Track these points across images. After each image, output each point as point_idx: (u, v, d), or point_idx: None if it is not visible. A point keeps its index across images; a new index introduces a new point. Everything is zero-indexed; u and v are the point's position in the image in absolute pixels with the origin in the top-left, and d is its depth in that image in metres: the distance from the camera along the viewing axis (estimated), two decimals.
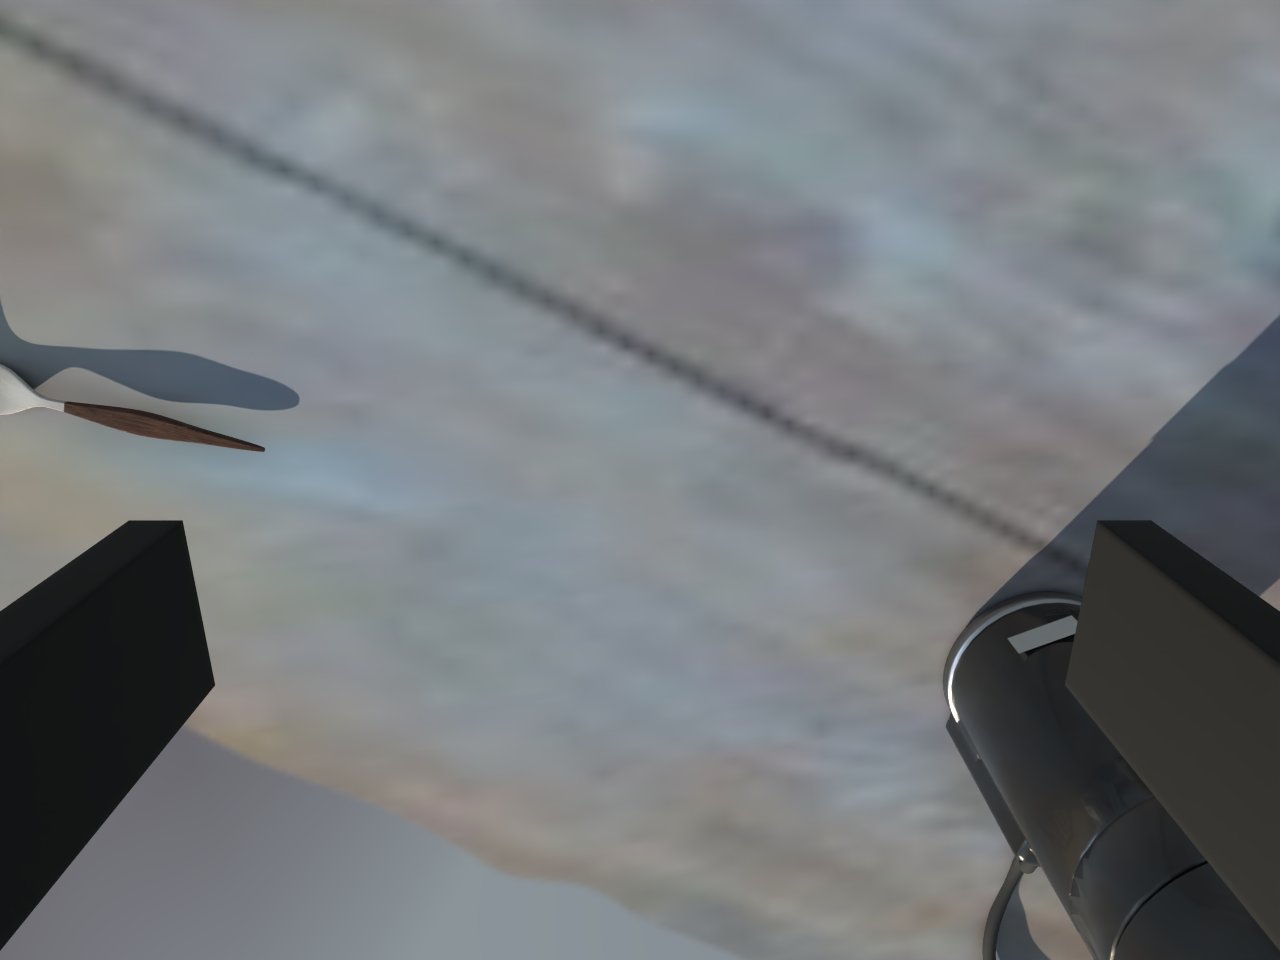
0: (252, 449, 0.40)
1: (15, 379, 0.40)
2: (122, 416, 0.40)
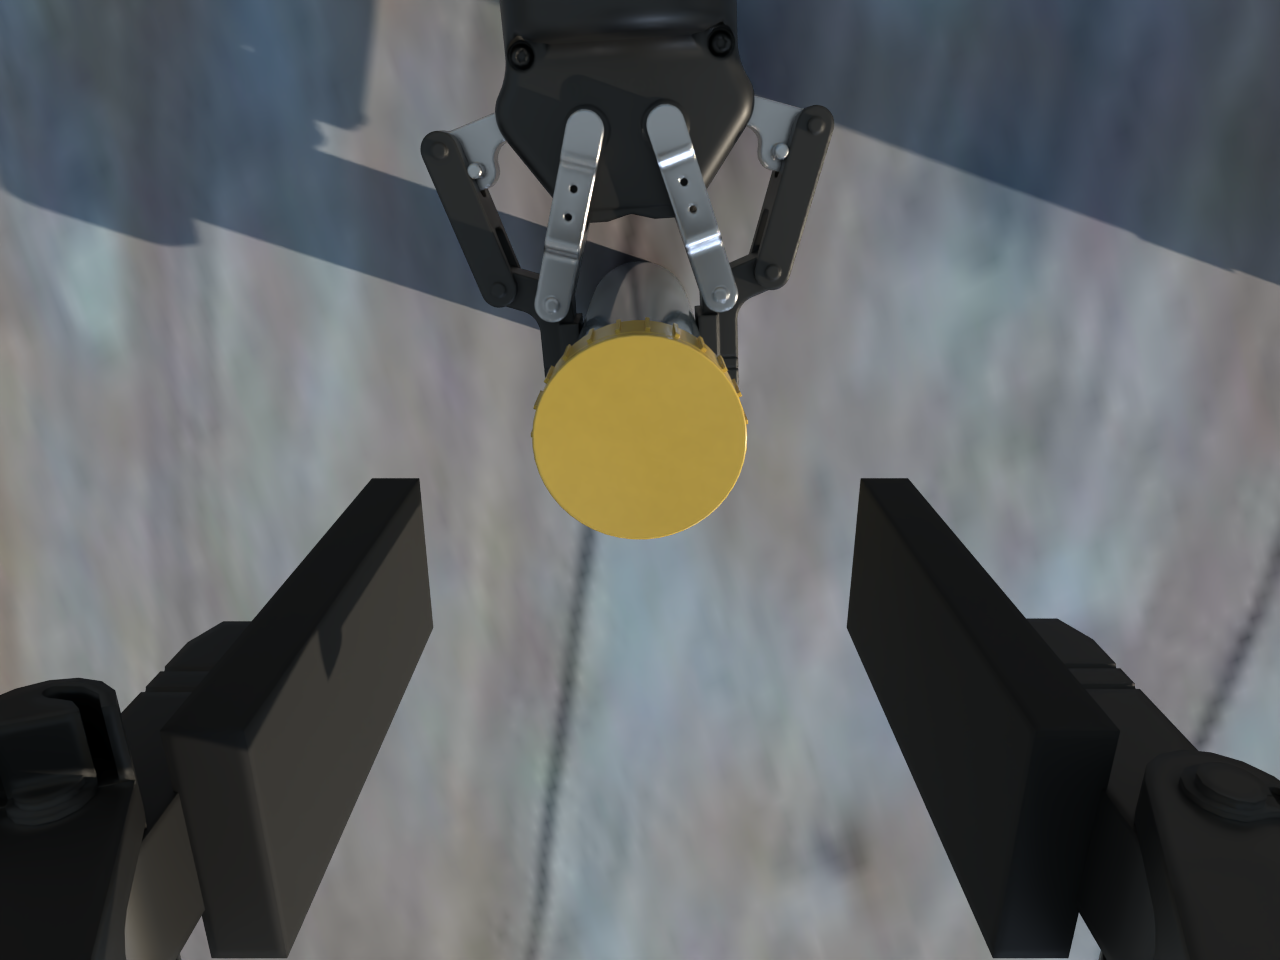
0: None
1: None
2: None
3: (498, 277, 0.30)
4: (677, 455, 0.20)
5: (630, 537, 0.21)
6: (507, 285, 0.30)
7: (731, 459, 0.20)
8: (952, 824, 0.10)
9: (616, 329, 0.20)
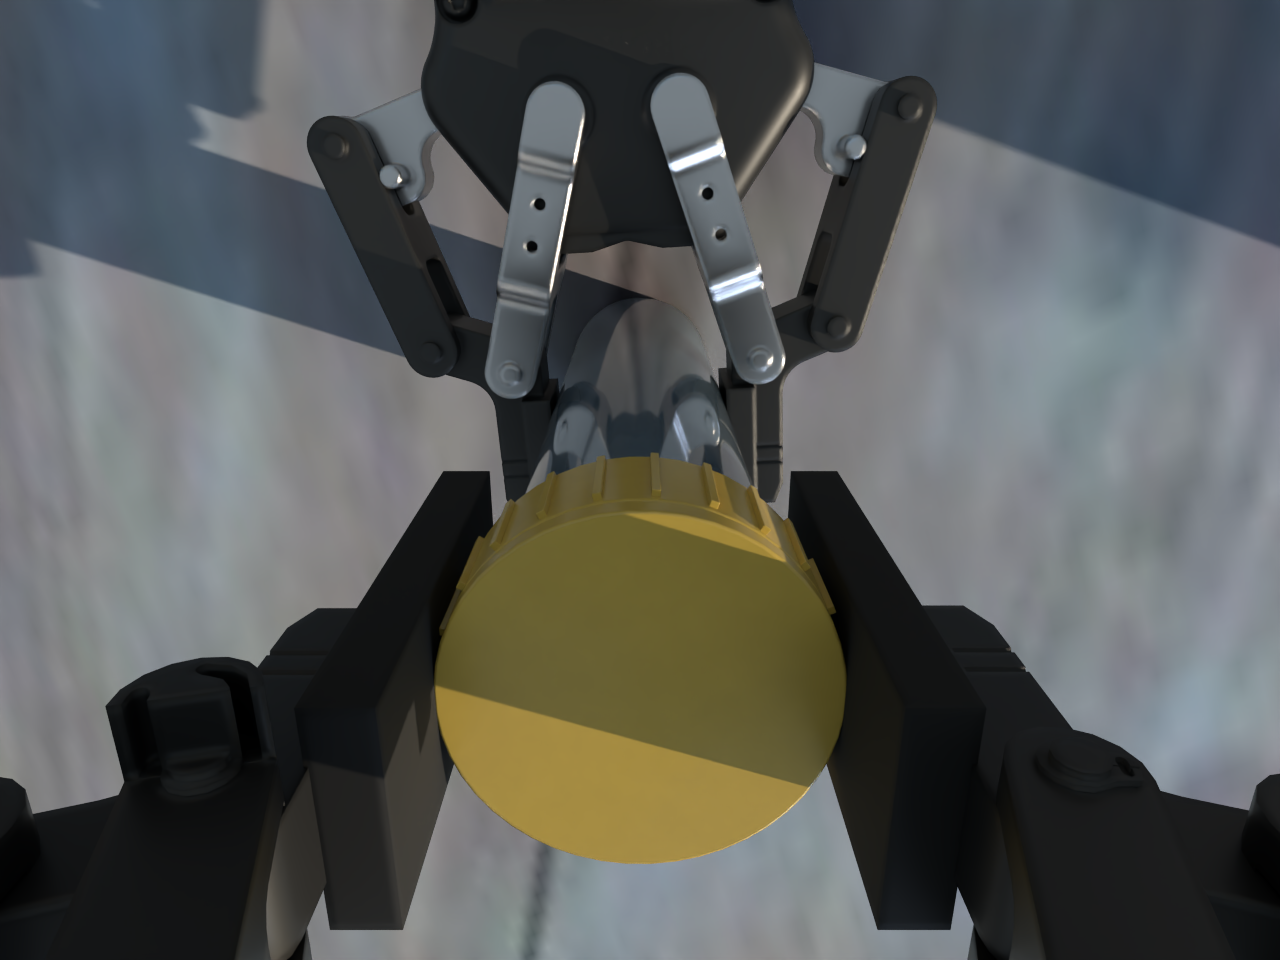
0: None
1: None
2: None
3: (430, 334, 0.20)
4: (712, 726, 0.10)
5: (623, 862, 0.11)
6: (444, 345, 0.20)
7: (816, 733, 0.11)
8: (851, 803, 0.10)
9: (594, 492, 0.10)
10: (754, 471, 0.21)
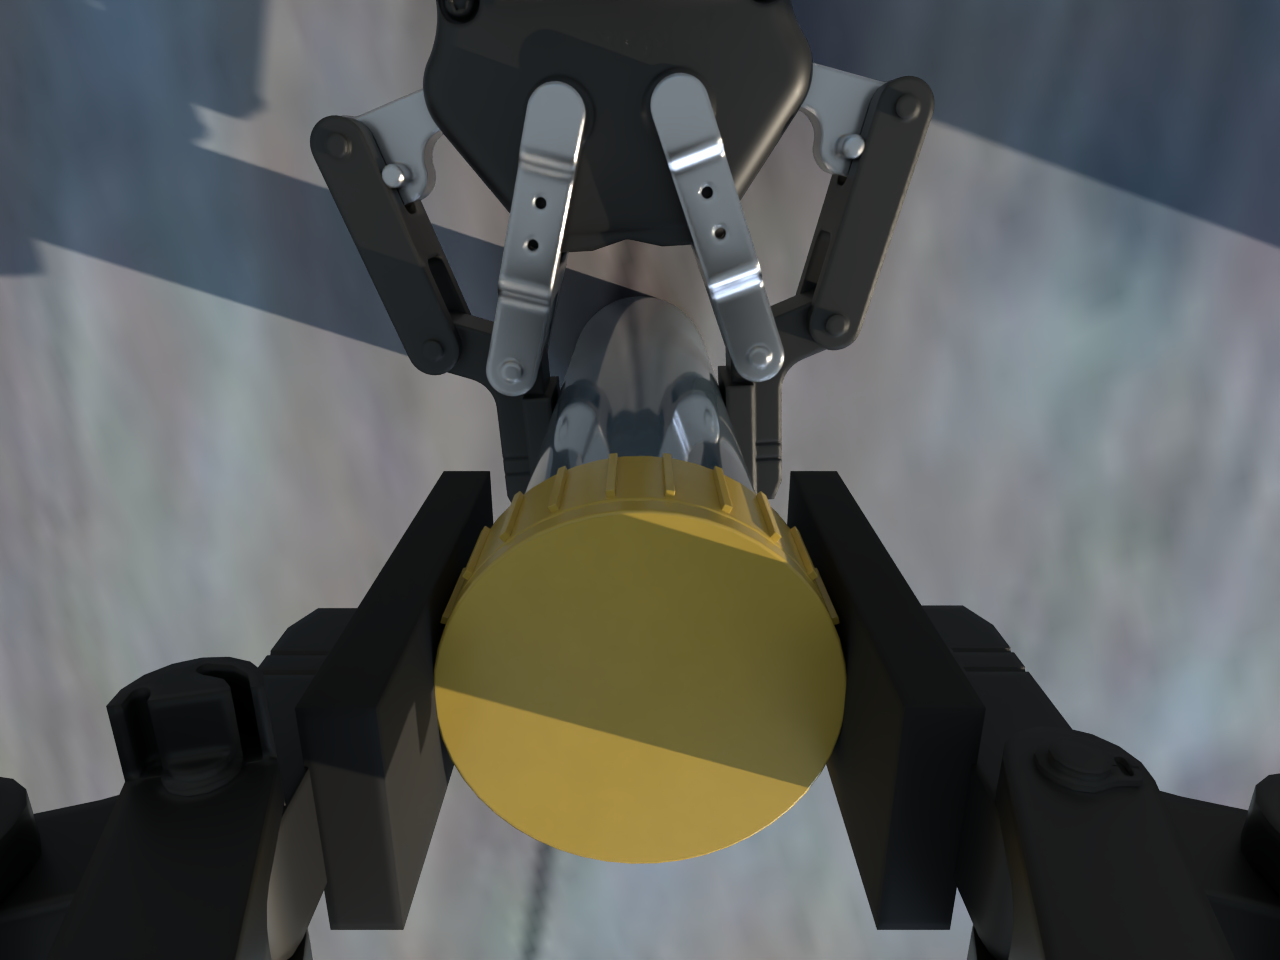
0: None
1: None
2: None
3: (432, 332, 0.20)
4: (624, 635, 0.10)
5: (827, 624, 0.10)
6: (446, 343, 0.20)
7: (572, 546, 0.10)
8: (850, 803, 0.10)
9: None
10: (753, 468, 0.21)
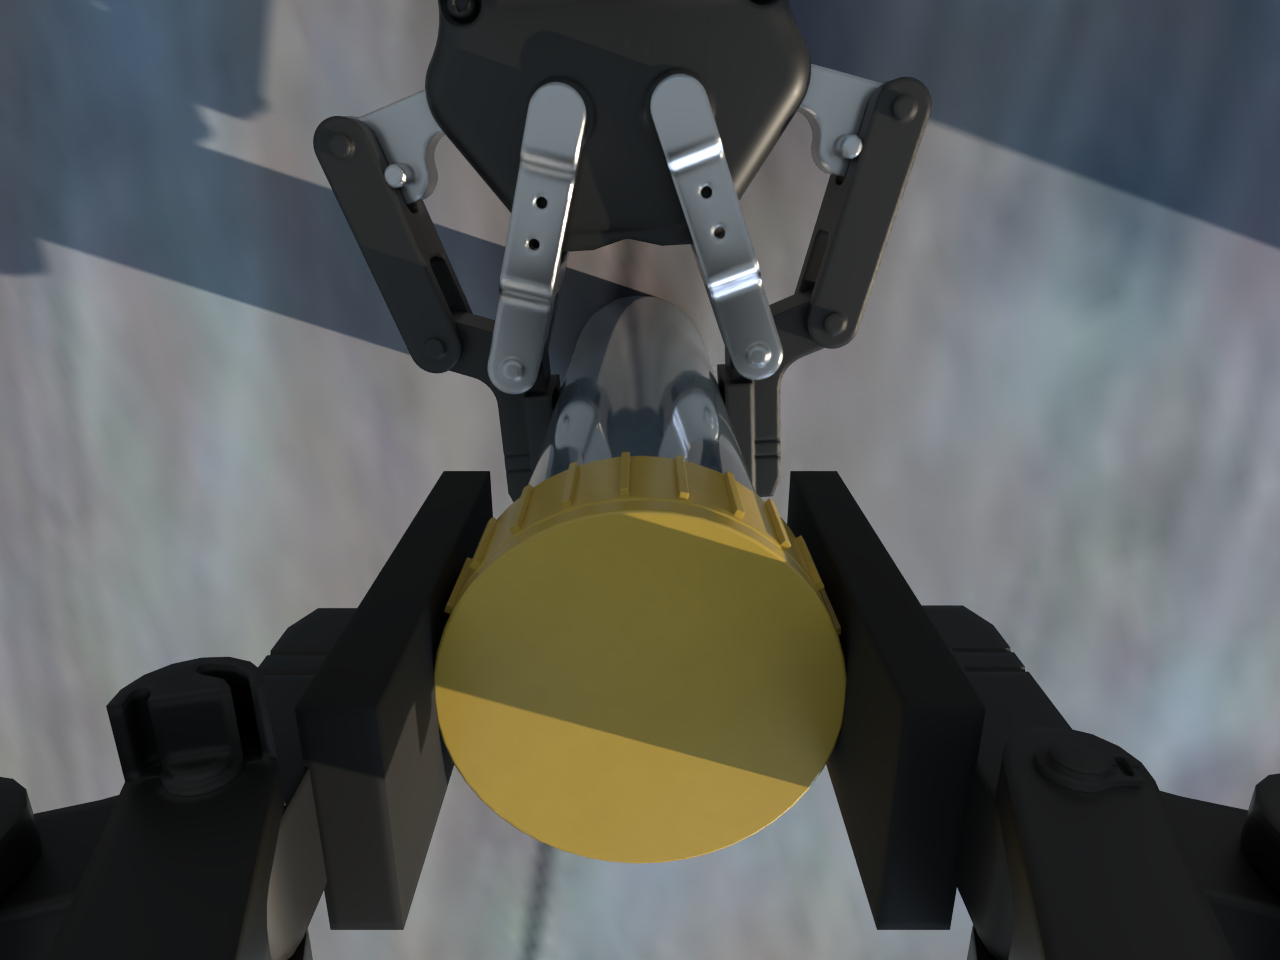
0: None
1: None
2: None
3: (434, 330, 0.20)
4: (583, 746, 0.11)
5: (461, 608, 0.10)
6: (447, 342, 0.20)
7: (533, 817, 0.11)
8: (850, 803, 0.10)
9: None
10: (752, 465, 0.22)
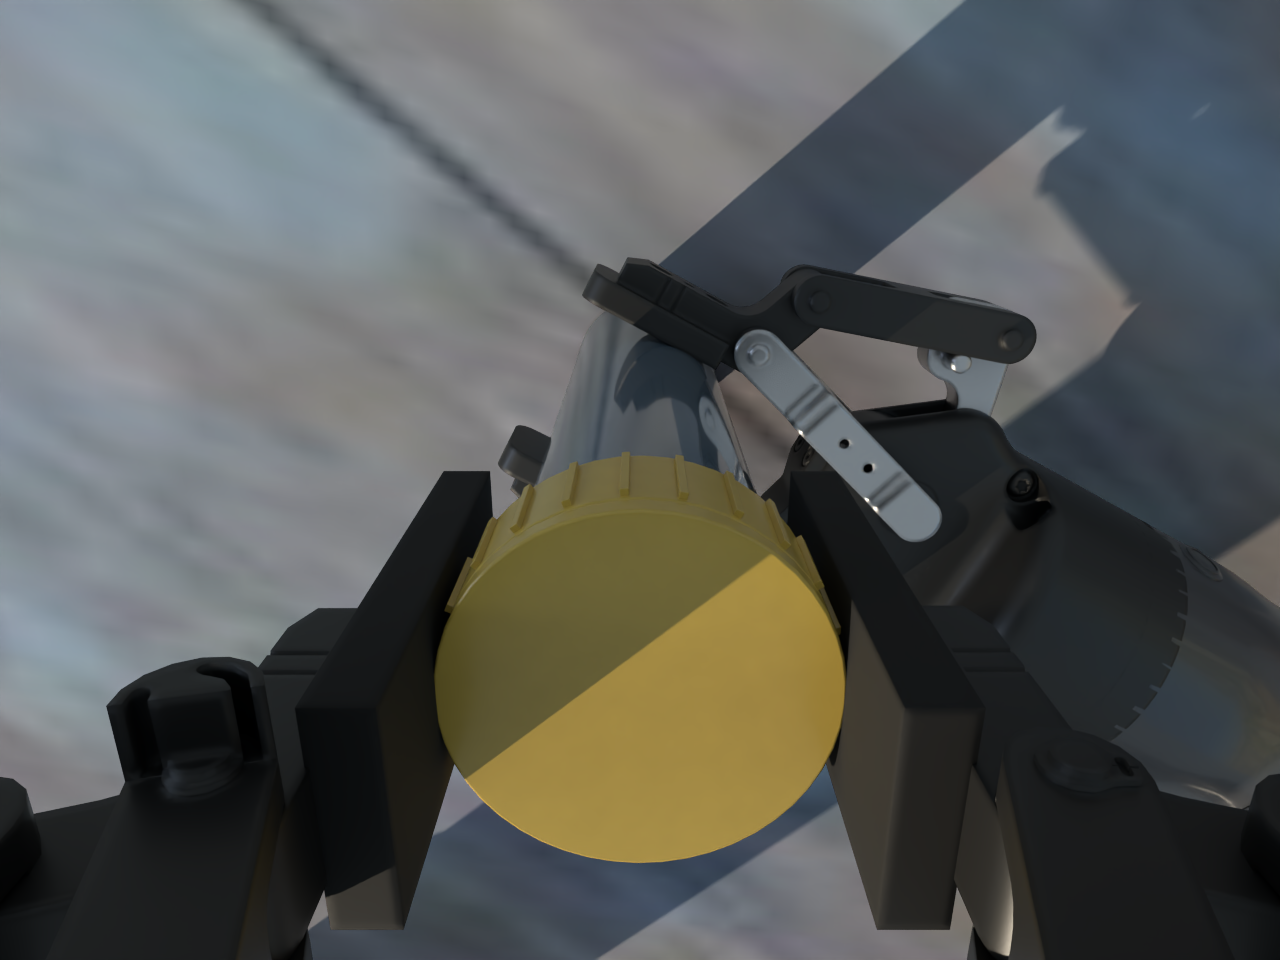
0: None
1: None
2: None
3: (833, 311, 0.21)
4: (583, 746, 0.11)
5: (461, 607, 0.10)
6: (817, 316, 0.21)
7: (533, 816, 0.11)
8: (850, 804, 0.10)
9: None
10: None
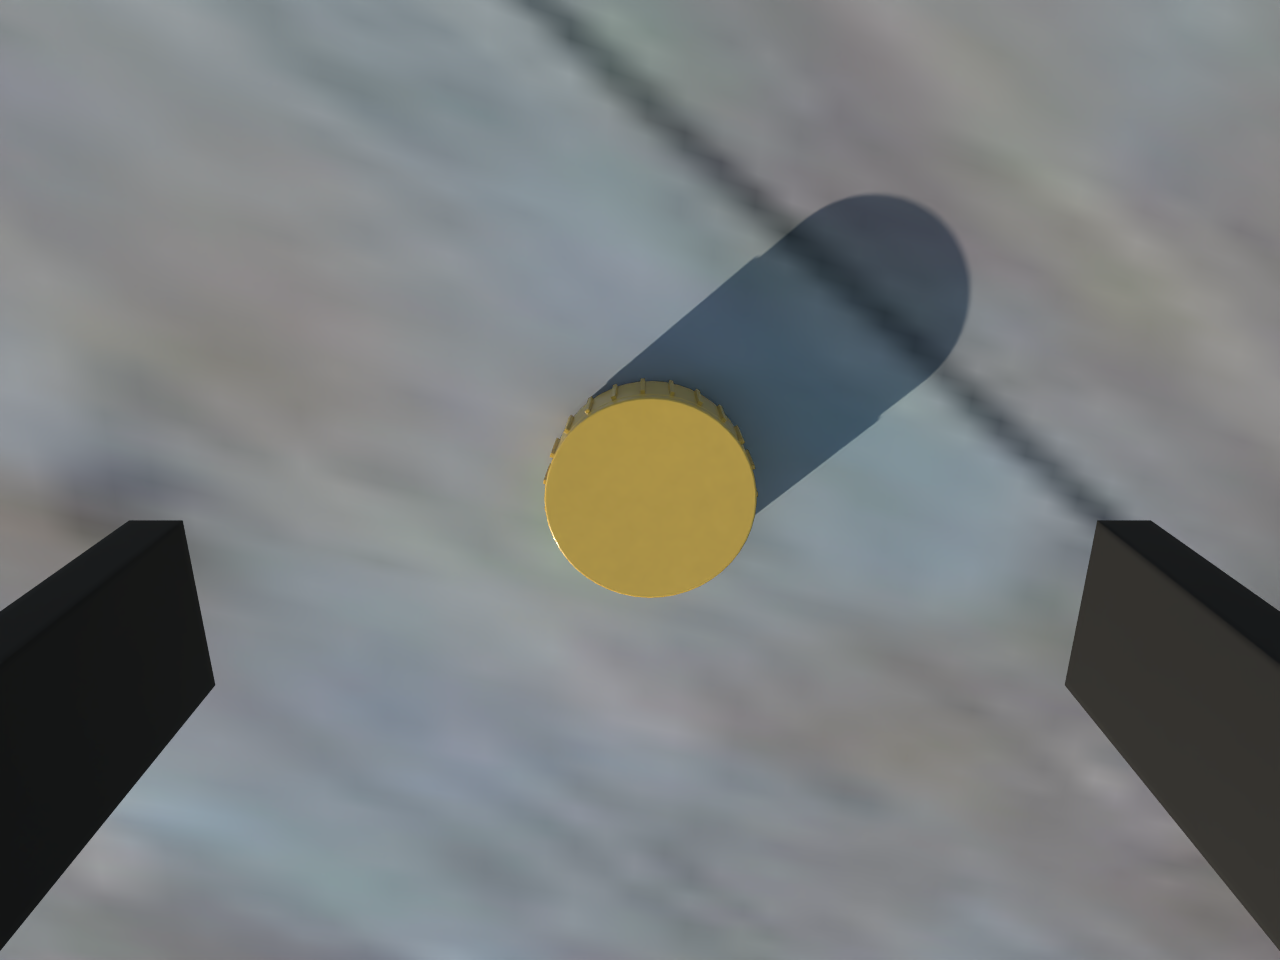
0: None
1: None
2: None
3: None
4: (621, 527, 0.20)
5: (561, 449, 0.20)
6: None
7: (594, 569, 0.21)
8: None
9: None
10: None
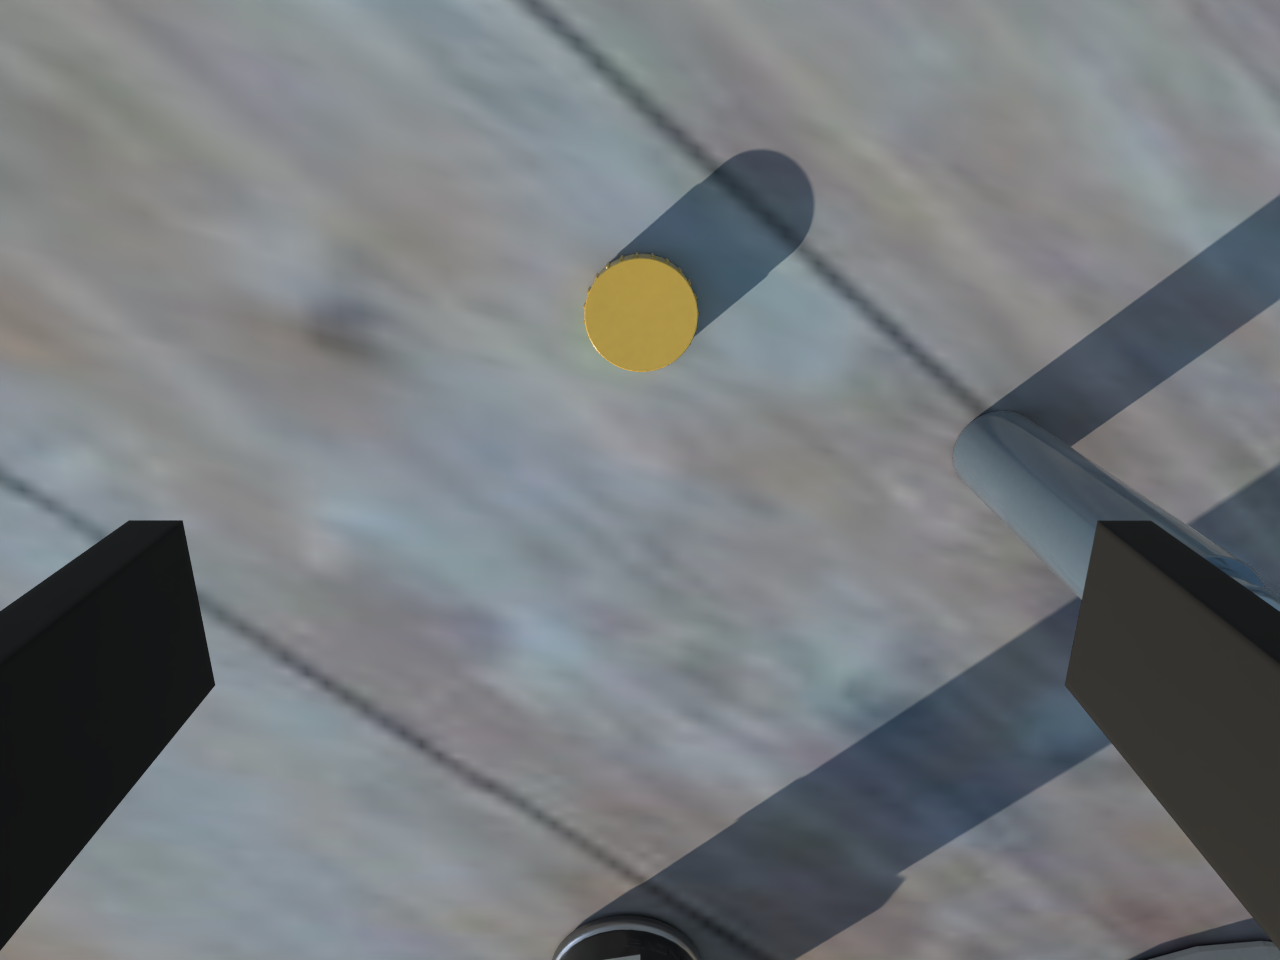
0: None
1: None
2: None
3: None
4: (625, 330, 0.38)
5: (593, 286, 0.37)
6: None
7: (610, 355, 0.38)
8: None
9: (696, 328, 0.39)
10: None
